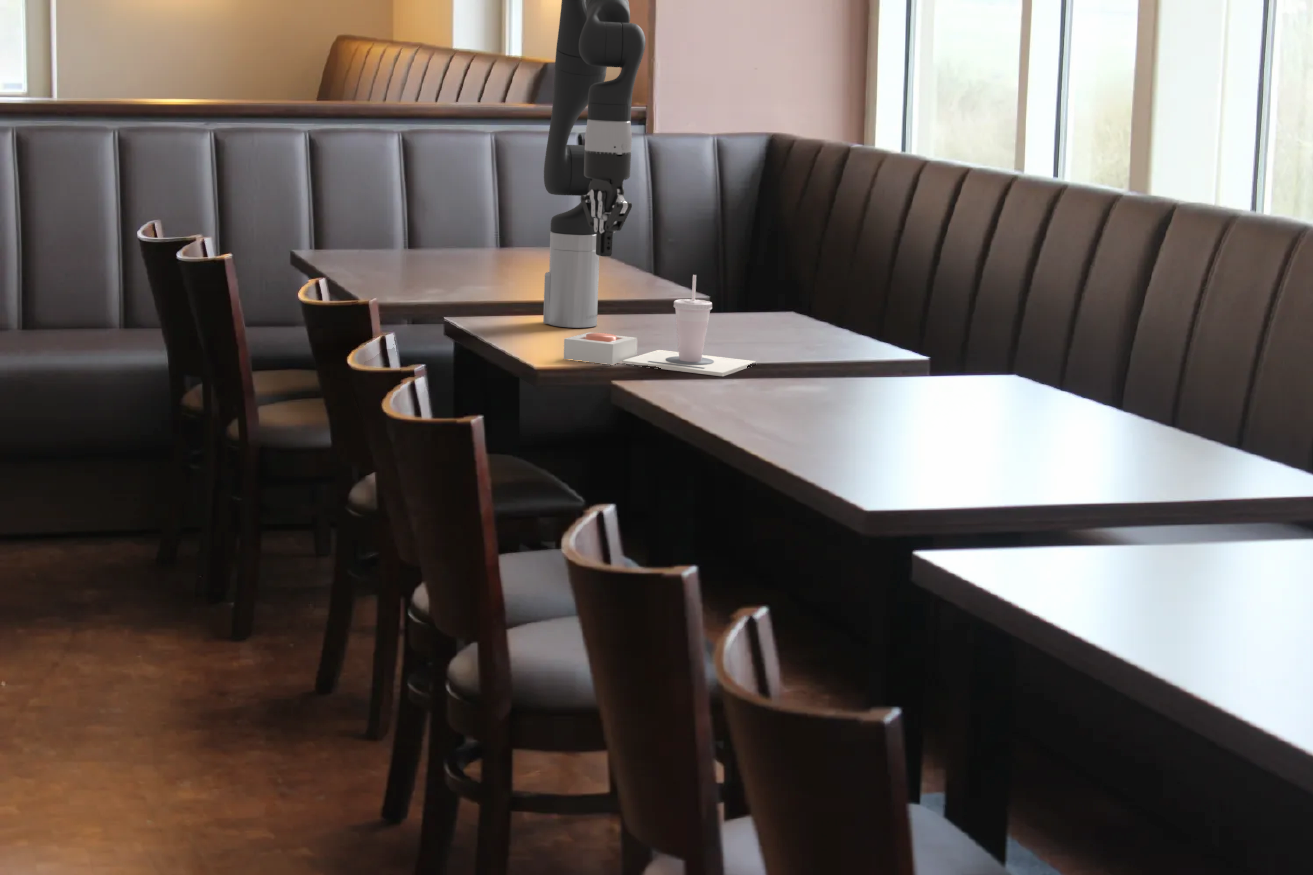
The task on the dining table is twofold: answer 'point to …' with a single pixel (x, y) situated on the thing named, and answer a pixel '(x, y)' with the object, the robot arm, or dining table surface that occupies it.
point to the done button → (601, 337)
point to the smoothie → (691, 326)
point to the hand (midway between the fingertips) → (603, 255)
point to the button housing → (600, 349)
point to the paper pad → (690, 363)
